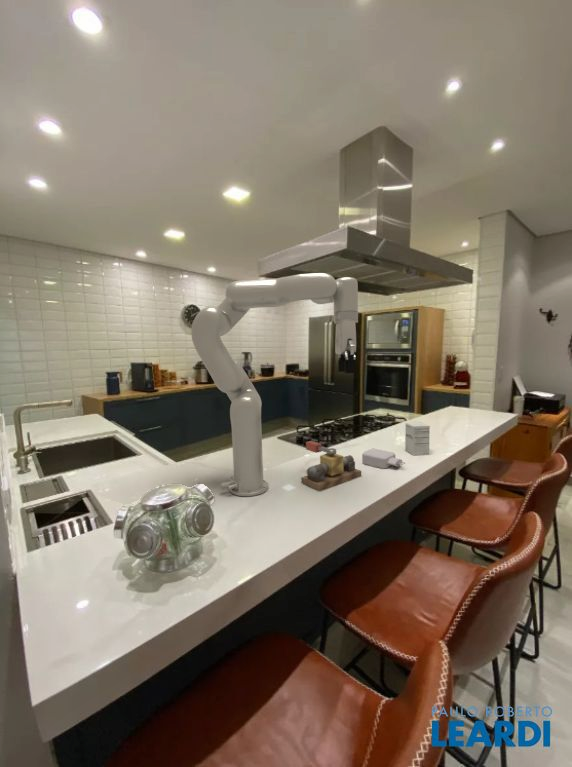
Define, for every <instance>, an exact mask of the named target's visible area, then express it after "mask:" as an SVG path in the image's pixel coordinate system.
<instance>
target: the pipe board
mask: <svg viewBox="0 0 572 767" xmlns="http://www.w3.org/2000/svg"><path fill="white" fill-rule="evenodd" d="M306 472H307V473H306V475H304V476H302V477H301V478H300V480H301V481H300V483H301V484H302V483H303V485H304V484H305V485H304V486H306V485H307V486H306V487H309V488H311V489H312V490H315V491H317V492H321V491H325V490H328V489H331V488H333V487H336V486H338V485H342V484H344V483H347V482H349V481H352V480H355V479H358V478H360V477H362V470H360V469H358V468H356V461H355V458H354V456H352V455H347V456H344V455H340V454H337V453H336V454H327V453H325V454H321V455H319V464H315V465H312V466H309V467H308V468H307V470H306Z"/></svg>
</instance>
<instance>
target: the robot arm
mask: <svg viewBox="0 0 572 767" xmlns="http://www.w3.org/2000/svg"><path fill="white" fill-rule="evenodd" d="M358 284H359V283H358V280H357V279H356V278H355V277H353V276H352V277H351V276H350V277H349V276H346V277H344V276H343V277H339V278H337V279H335V277H334V276H333V275H331V274H329V273H325V272H317V273H315V272H314V273H300V274H294V275H288V276H282V277H278V278H265V279H261V278H260V279H243V280H235V281H232V282H230V283H229V284H228V285H227V287H226V289H225V298H224V300H222V302H221V303H219V305H218V306H207V307H206V306H205V307H204V308H202V309H201V310H199V311H198V313H197V314H196V315H195V317H194V320H193V321H192V325H191V332H190V333H191V334H190V335H191V340H192V344H193V346H194V349H195V350H196V353H197V354H198V356H199V358H200V360H201V361H202V363H203V365H204V367H205V368H206V371H208V374H209V376H211V379H212V380H213V382H214V384H215V386H216V388H217V389H218V390H219V391H221V393H225V394H226V395H227V397H228V398H229V400H230V402H231V404H230V406H229V407H230V408H229V418H230V424H231V425H230V426H231V440H232V442H231V443H232V463H233V464H232V465H233V466H232V467H233V475H231V476H230V479H229V480H228V481H224V482H220V483H219V488H220V490H224V489H227V491H229V492H230V493H231V494H233V495H235V496H238V497H254V496H258V495H260V494H264V493H265V492H266V491H267V490H268V489H269V482H267V481H266V480H264V463H263V462H264V461H263V460H264V459H263V438H262V437H263V434H262V404H263V403H262V399H261V396H260V394H259V393H258V391H257V389H256V387H255V386H254V384H253V383H252V381H251V379H250V378H249V376H248V374H247V373H246V371H245V369H244V368H243V367H242V366H241V365H239V364H237V363H236V362H235V361H234V360H233V358H232V356H231V354H230V353H229V351H228V349H227V347H226V346H225V344H224V343H223V341H222V338H221V337H223V336H225V335H227V334H228V333H229V332H230V331H232V329H233V328H234V327H235V326H236V325H237V324H238V322H240V321H241V319H243V318H244V316H245V315H246V314H247V313H248V312H249V311H250V310H251V309H257V308H258V309H259V308H260V309H261V308H278V307H282V306H285V305H287V304H289V303H294V302H298V301H308V300H310V301H311V302H313V303H314V304H316V305H325V304H331V303H333V324H334V325H336V326H335V339H334V340H335V341H334V342H335V344H334V346H335V347H334V348H335V349H334V352H335V355H338V357H337V358H338V359H337V362H338V363H337V365H338V367H337V368H338V372H339V373H340V372H341V373H342V372H343V373H345V374H355V373H356V355H355V354H356V352H357V330H356V328H357V327H356V324H358V323H359V298H358V297H359V295H358V294H359V291H358V290H359V288H358Z"/></svg>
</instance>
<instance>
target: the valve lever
mask: <svg viewBox="0 0 572 767" xmlns="http://www.w3.org/2000/svg"><path fill="white" fill-rule="evenodd" d="M305 450H307V451H309V452H313V453H316V454H317V453H321V452H324V453H326V454H337V449H336V448H331V447H330V448H329V447H328V448H327V447H325V446H322V443H320V442H317V441H313V440H309V441H306V442H305Z"/></svg>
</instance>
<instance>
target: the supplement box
mask: <svg viewBox="0 0 572 767" xmlns="http://www.w3.org/2000/svg"><path fill="white" fill-rule="evenodd" d="M430 427H431V426H430V425H429V424H426V423H423V422H421V421H415V422H413V421H412V422H406V423H405V442H404V443H405V446H404V448H405V452H408V453H409V454H411V455H412V456H413V457H414V456H428V455H430V433H431V432H430V431H431V430H430Z"/></svg>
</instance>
